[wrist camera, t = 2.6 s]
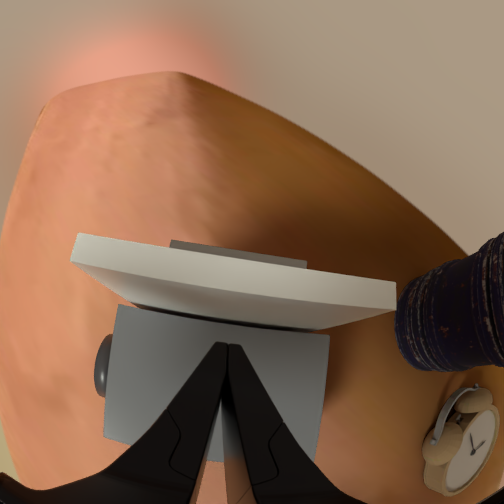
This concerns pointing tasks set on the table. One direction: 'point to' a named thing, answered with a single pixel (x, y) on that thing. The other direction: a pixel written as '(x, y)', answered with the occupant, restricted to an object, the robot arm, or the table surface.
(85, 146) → the table surface
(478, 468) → the alarm clock
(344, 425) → the table surface
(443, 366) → the storage jar
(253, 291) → the door
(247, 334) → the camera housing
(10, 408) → the table surface
